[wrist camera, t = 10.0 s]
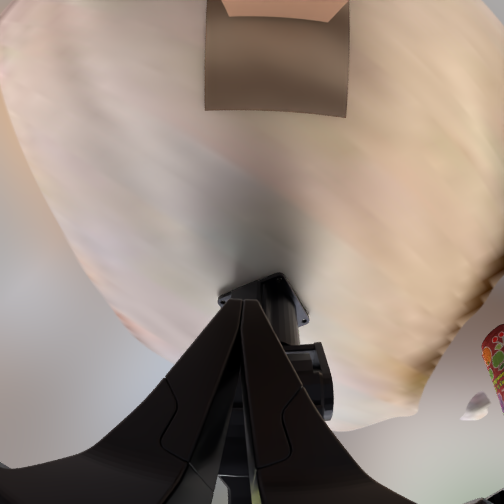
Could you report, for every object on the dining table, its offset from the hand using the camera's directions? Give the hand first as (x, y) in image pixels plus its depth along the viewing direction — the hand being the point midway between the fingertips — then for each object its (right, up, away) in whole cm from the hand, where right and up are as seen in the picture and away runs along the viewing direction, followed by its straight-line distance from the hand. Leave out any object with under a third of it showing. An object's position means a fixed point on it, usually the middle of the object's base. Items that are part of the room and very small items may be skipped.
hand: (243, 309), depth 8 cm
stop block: (+2, +18, +4) cm, 19 cm away
